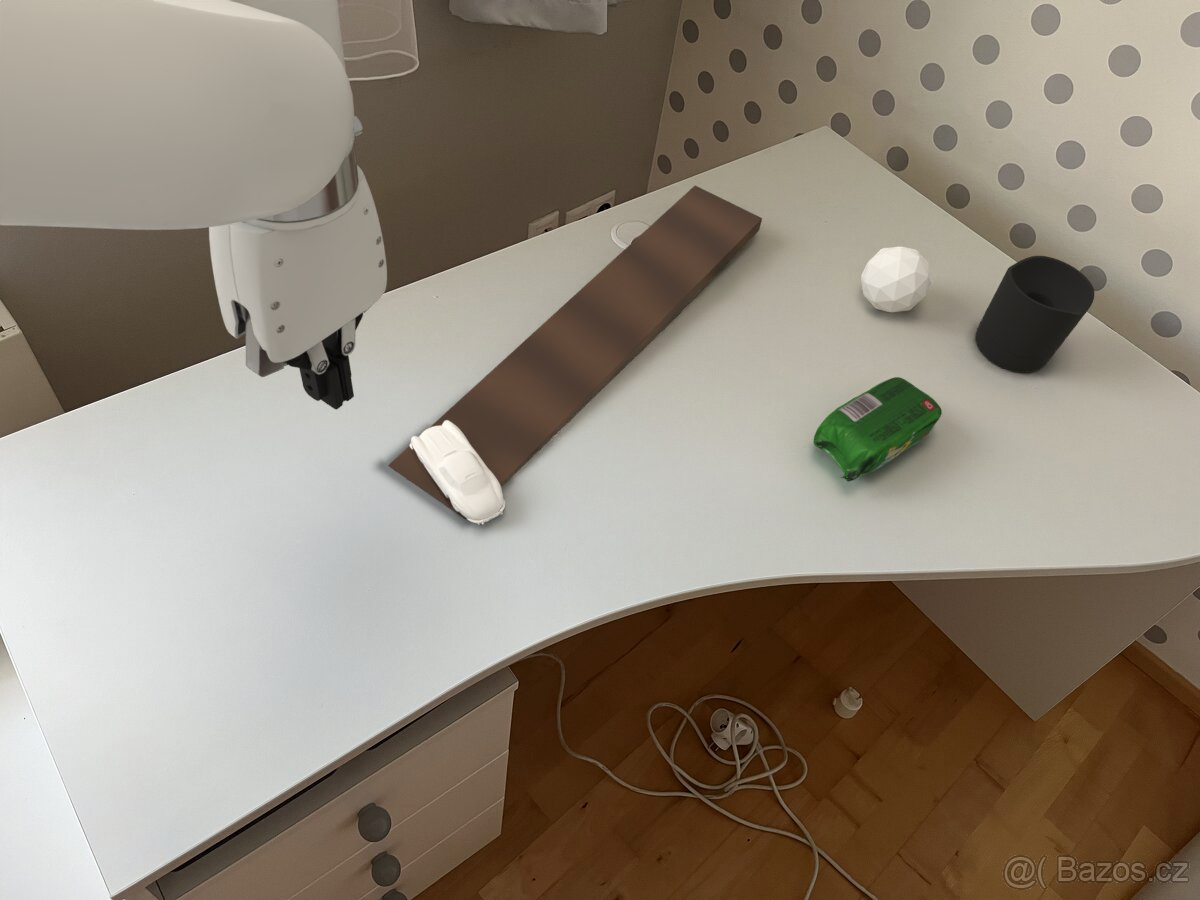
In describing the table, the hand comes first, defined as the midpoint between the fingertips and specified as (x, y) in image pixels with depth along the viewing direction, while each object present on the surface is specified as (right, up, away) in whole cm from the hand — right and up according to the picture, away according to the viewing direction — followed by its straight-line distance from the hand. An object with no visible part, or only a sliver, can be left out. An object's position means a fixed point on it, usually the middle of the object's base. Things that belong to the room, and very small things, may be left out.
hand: (330, 393), depth 64 cm
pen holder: (+68, +8, +42) cm, 80 cm away
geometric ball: (+54, +14, +45) cm, 71 cm away
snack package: (+47, -3, +30) cm, 56 cm away
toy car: (+6, -7, +22) cm, 24 cm away
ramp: (+19, +7, +38) cm, 43 cm away
